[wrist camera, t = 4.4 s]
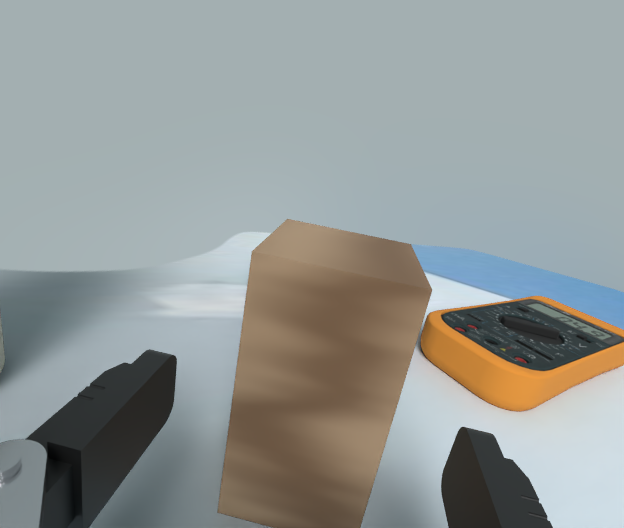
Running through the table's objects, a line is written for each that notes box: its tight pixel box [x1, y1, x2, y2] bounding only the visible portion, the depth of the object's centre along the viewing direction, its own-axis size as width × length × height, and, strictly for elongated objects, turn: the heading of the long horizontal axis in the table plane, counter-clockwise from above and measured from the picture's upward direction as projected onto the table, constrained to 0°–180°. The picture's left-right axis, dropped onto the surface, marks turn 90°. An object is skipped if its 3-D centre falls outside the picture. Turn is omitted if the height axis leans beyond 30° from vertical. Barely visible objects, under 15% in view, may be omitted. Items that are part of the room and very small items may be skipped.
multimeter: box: [421, 296, 624, 411], centre depth 29 cm, size 9×18×3 cm, turn 122°
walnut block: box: [218, 219, 432, 528], centre depth 14 cm, size 5×5×10 cm
